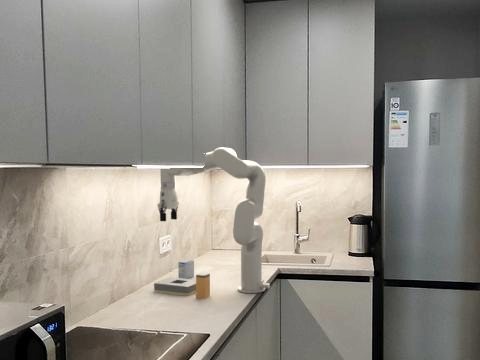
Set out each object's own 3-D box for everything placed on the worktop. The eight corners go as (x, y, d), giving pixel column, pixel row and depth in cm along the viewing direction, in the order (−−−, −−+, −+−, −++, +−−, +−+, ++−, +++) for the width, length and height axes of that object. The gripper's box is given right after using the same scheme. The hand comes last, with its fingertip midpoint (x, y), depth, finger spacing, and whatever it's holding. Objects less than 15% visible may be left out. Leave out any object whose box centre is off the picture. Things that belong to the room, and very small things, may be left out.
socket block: (203, 288, 227) (203, 280, 227) (188, 295, 214) (188, 286, 214) (170, 285, 235) (170, 277, 234) (154, 291, 222) (154, 283, 222)
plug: (209, 296, 213) (209, 273, 213) (205, 298, 209) (204, 275, 209) (201, 295, 215) (200, 272, 215) (196, 297, 211) (196, 274, 211)
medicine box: (187, 275, 256) (187, 259, 256) (194, 276, 254) (194, 260, 254) (178, 278, 250) (178, 261, 249) (185, 279, 247) (184, 262, 247)
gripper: (164, 186, 231) (165, 222, 232) (183, 185, 247) (184, 219, 247) (151, 186, 235) (152, 221, 235) (171, 185, 250) (171, 218, 251)
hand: (168, 220), depth 241 cm, fingers open, 9 cm apart
